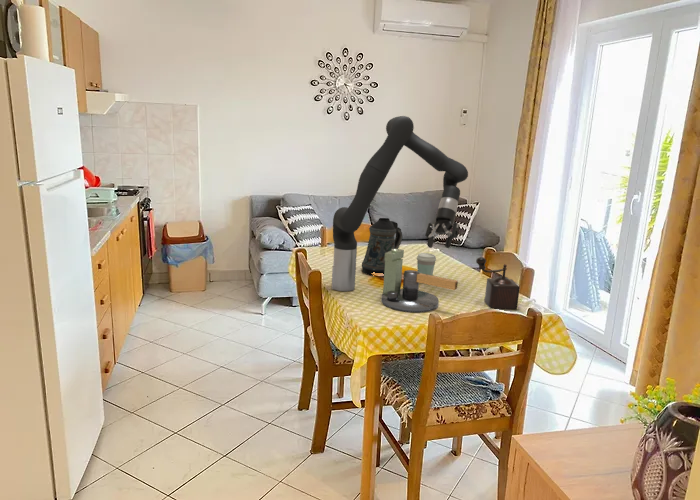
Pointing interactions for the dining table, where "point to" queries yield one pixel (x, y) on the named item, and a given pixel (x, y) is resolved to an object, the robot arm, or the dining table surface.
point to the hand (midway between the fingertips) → (438, 247)
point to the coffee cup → (426, 263)
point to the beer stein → (380, 245)
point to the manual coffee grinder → (500, 289)
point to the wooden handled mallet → (416, 277)
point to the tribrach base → (394, 292)
